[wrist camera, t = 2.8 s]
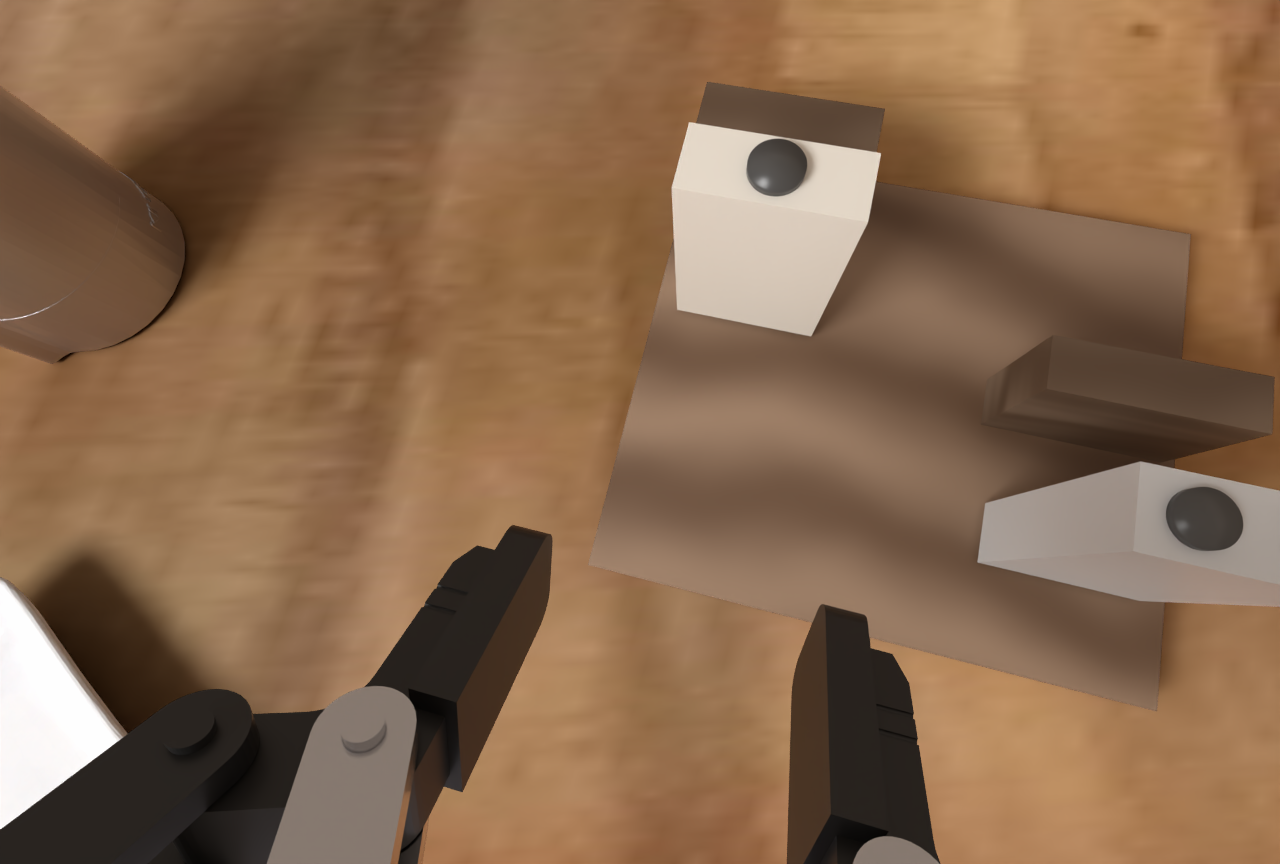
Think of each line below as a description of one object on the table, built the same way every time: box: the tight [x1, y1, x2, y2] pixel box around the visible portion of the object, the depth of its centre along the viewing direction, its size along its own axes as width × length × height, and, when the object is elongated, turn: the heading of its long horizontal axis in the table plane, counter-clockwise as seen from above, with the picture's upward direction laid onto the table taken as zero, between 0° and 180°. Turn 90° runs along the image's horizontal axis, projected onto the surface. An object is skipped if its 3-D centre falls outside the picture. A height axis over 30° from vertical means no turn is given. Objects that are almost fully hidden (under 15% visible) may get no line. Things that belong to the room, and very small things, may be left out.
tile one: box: [672, 122, 881, 336], centre depth 24 cm, size 2×6×9 cm, turn 76°
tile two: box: [977, 461, 1280, 607], centre depth 20 cm, size 2×6×9 cm, turn 76°
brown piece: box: [588, 82, 1274, 711], centre depth 25 cm, size 20×22×6 cm
